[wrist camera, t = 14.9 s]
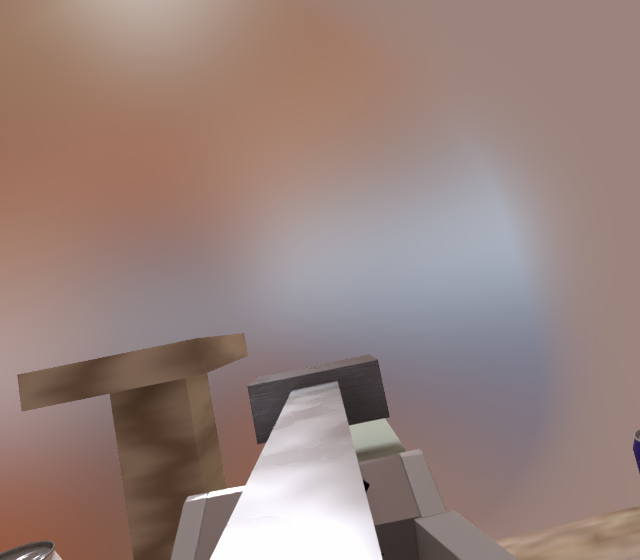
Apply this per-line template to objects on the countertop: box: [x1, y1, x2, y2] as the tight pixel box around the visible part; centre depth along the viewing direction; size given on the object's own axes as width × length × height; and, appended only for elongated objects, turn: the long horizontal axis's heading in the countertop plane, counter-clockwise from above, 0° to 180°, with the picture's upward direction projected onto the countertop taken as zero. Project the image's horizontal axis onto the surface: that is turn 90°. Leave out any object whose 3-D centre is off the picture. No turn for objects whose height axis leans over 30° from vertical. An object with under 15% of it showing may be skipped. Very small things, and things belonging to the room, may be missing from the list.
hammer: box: [210, 355, 389, 560], centre depth 15 cm, size 7×22×3 cm, turn 0°
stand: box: [17, 333, 248, 560], centre depth 29 cm, size 10×14×24 cm
